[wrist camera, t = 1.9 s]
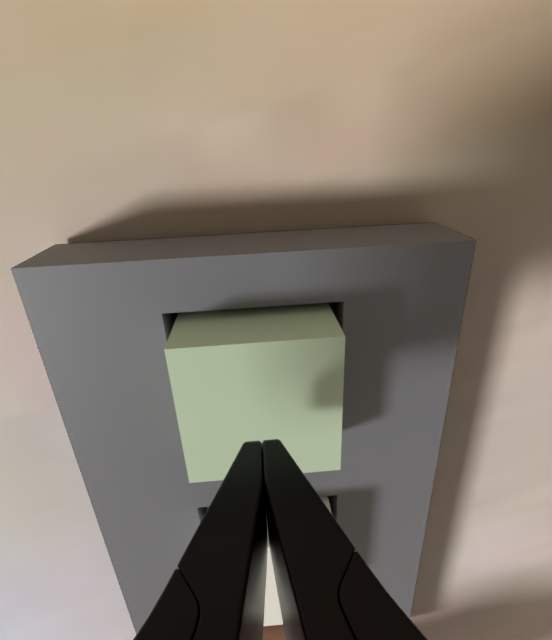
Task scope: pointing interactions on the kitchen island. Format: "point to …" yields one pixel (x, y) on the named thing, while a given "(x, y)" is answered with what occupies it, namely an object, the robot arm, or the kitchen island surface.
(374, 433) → the button panel
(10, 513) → the kitchen island surface
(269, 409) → the sage button
